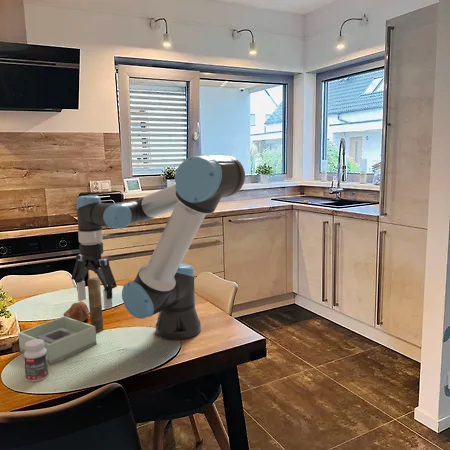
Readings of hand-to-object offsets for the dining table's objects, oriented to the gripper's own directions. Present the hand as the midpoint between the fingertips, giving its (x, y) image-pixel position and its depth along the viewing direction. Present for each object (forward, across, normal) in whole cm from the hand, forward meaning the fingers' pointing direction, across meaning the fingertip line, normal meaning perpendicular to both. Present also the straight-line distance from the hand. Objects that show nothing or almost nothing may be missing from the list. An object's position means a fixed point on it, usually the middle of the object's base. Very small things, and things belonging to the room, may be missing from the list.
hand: (94, 304), depth 145 cm
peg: (+9, 0, 0) cm, 9 cm away
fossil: (+10, +12, -1) cm, 15 cm away
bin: (+9, -1, +16) cm, 18 cm away
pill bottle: (+9, -12, +30) cm, 33 cm away
